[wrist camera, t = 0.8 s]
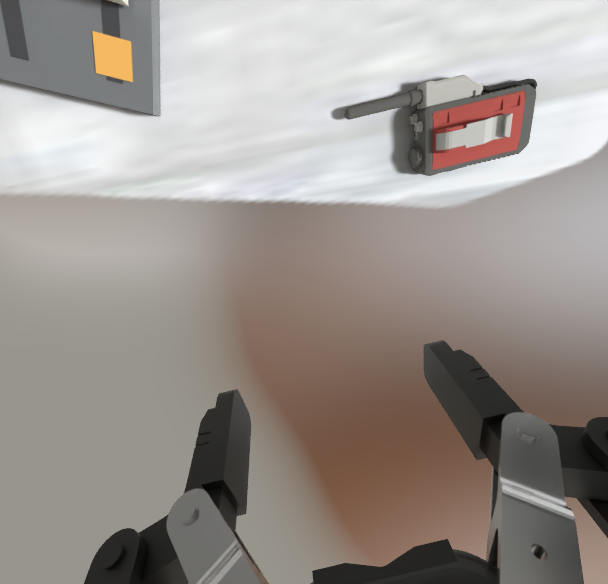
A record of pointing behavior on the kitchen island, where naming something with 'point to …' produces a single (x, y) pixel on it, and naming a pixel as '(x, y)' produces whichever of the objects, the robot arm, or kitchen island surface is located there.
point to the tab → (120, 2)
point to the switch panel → (84, 49)
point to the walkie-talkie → (462, 121)
